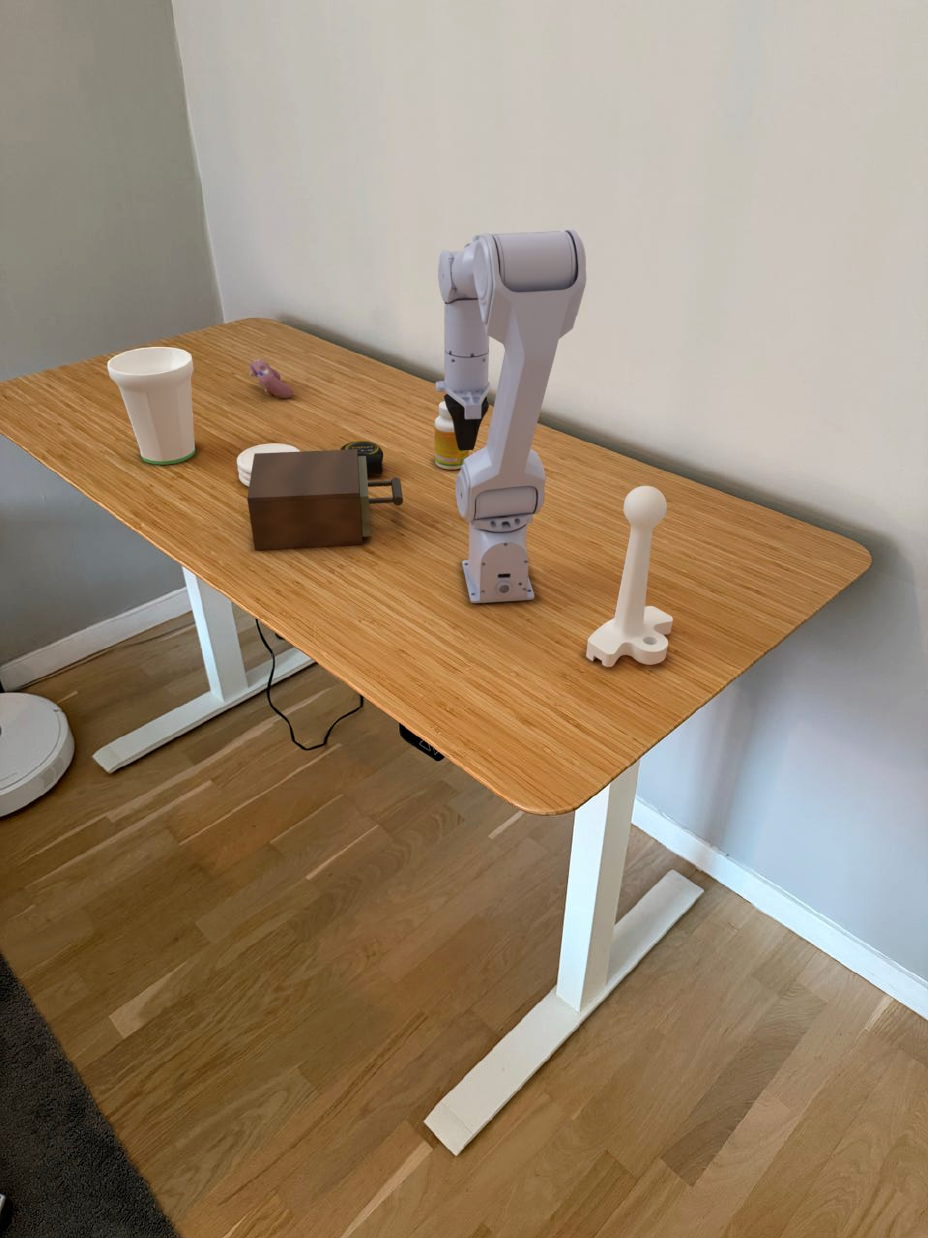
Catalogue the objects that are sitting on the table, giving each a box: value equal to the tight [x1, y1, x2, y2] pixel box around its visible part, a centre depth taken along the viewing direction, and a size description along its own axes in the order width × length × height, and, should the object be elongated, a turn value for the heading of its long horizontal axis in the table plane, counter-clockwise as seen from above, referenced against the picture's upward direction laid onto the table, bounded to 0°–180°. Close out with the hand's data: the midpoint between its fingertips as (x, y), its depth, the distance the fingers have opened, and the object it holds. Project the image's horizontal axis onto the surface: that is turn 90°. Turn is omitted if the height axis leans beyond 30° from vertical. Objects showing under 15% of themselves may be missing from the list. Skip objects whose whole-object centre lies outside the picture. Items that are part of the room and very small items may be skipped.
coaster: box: [236, 442, 301, 488], centre depth 136 cm, size 10×10×4 cm
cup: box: [106, 346, 196, 466], centre depth 139 cm, size 12×12×15 cm
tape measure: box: [339, 440, 384, 476], centre depth 138 cm, size 7×7×4 cm
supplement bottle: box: [434, 400, 470, 471], centre depth 139 cm, size 5×5×10 cm
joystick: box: [585, 485, 674, 668], centre depth 97 cm, size 11×8×20 cm
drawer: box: [357, 456, 404, 538], centre depth 124 cm, size 18×12×6 cm
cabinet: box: [246, 449, 363, 551], centre depth 123 cm, size 14×13×8 cm
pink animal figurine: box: [248, 358, 294, 399], centre depth 163 cm, size 10×5×7 cm, turn 25°
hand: (465, 448), depth 122 cm, fingers closed
